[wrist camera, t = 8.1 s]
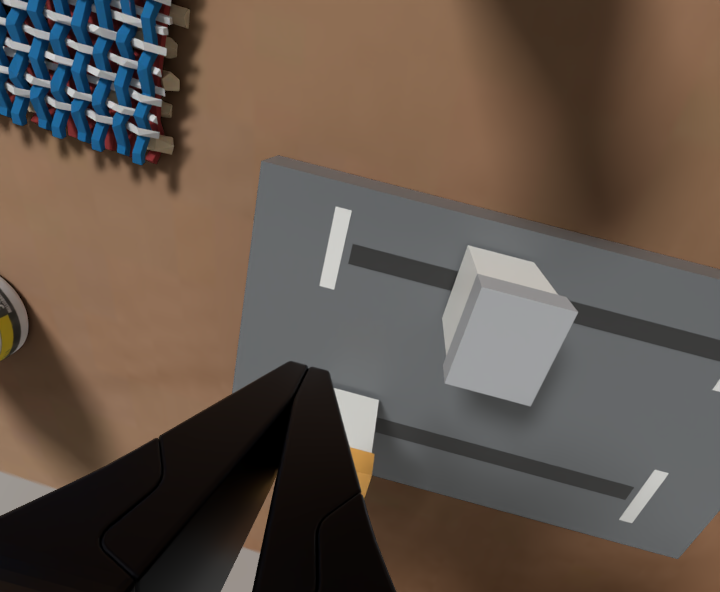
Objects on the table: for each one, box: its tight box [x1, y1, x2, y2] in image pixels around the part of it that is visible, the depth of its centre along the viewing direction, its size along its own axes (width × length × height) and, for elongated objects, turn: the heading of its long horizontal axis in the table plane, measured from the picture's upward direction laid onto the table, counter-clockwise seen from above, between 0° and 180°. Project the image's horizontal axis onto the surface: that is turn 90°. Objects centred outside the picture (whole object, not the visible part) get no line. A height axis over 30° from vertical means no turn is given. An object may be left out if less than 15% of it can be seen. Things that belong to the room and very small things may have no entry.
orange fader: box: [334, 388, 379, 498], centre depth 17 cm, size 3×3×4 cm
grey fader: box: [442, 245, 578, 406], centre depth 14 cm, size 3×3×4 cm
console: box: [232, 155, 720, 559], centre depth 18 cm, size 22×13×2 cm, turn 77°
